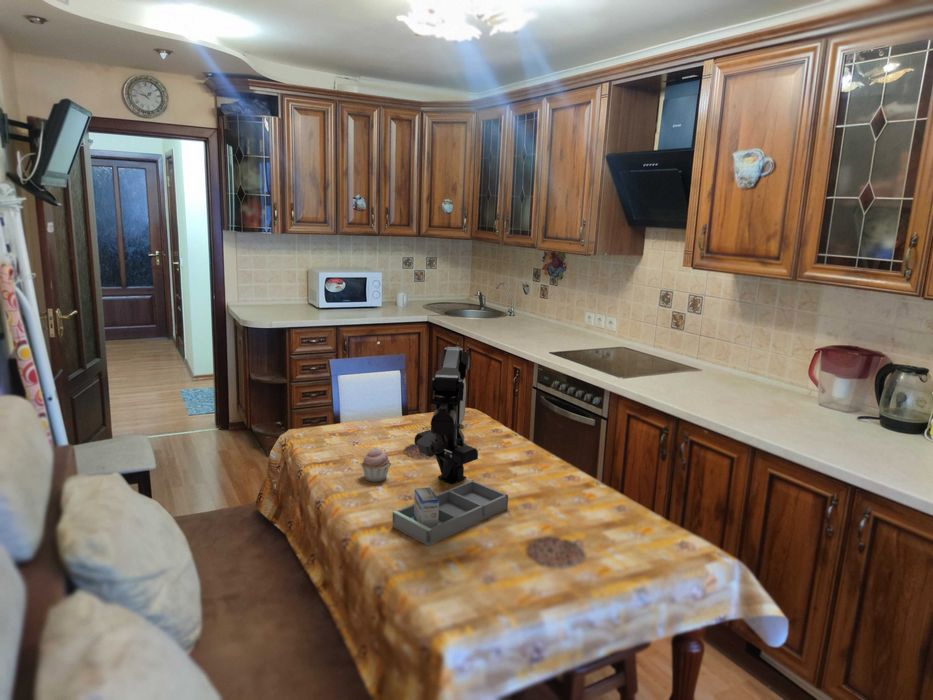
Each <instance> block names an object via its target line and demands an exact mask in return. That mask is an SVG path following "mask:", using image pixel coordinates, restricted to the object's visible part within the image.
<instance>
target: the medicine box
mask: <svg viewBox="0 0 933 700" xmlns="http://www.w3.org/2000/svg"><path fill="white" fill-rule="evenodd" d="M436 495H437V494H435V492H434V491H433V490H432V488H431V487H430V486H429V487H428V486H426V487H418V488H417V487H416V488H415V489H414V496H413V497H414V499H413V504H414V520H415V521H417V522H419V523H421V524H423V525H425V526H427V527H429V528H432V527H434V526H436V525H438V515H439V500H438V498H437V497H436Z"/></svg>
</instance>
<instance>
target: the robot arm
mask: <svg viewBox="0 0 933 700" xmlns="http://www.w3.org/2000/svg"><path fill="white" fill-rule="evenodd" d="M463 349H464V348H463V347H460V346H446V347H444V350H443V351H440V355H439V356H440V358H439V368H440V369H439V370H436V371H435V375H434V377H432V379H431V387H430V388H431V389H430V398H429V405H435V409H434V412H433V414H432V417H431V420H430V429H427V430H424V431H421V432H419V433H417V434H416V435H415V437H414V445H416V446H417V448H418V452H419V453H420V454H423V455H425V456H427V457H428V458H430V457H433V456H434V457H435V459H436V462H437V464H438V467H439V470H440V473H441V474H440V475H438V476H437V479H439V480H441V481H444V482H446V483H448V484H450V485H453V484H456V483H458V482H461V481H463V480H466V479H467V476H466V475H464V471H465V468H464V467H465V466H464V465H465V464H468V463H471V462H473V461H475V460H476V461H477V460H478V459H479V451H478V449H477V448H475V447H473V446H470V445H468V444H467V443H465V435H464V433H463V432H462V430H461V424H460V406H461V401H463V395H464V383H463V380H464V378H465V379H466V377H467V374H468V373H467V371H469V370H470V354H469V353H468V352H466V351H464V350H463ZM439 396H441V397H439Z"/></svg>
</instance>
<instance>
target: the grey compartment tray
mask: <svg viewBox="0 0 933 700" xmlns="http://www.w3.org/2000/svg"><path fill="white" fill-rule="evenodd" d="M435 495H436V497H437V498H438V500H439V515H438V525H436V526H434V527H432V528H429V527H427V526H425V525H423V524H421V523H419V522H417V521H415V520H414V503H412V504H410V505H407V506H405V507H402V508H400V509H398V510H396V509H395V510H393V511H392V527H393V528H394V529H397V530H398V531H400V532H402V533H404V534H405V535H407V536H409V537H411V538H413V539H415V540H417V541H419V543H422V544H424V545H425V546H428V547H430V546H432V545H434V544H436V543H438V542H441V541H442V540H445V539H446V538H449V537H450V536H451V537H452V535H453V536H454V534H457V533H460V532H461V531H463V530H465V529H468V528H469V527H471V526H473V525H476V524H478V523H479V522H480V523H481V522H482V521H484V520H486V519H488V518H490V517H492V516H494V515H496V514H498V513H500V512H503V511H505V510H507V509H508V507H509V505H508V504H509V495H508V494H507V493H504V492H502V491H499V490H497V489H495V488H492V487H490V486H487V485H485V484H483V483H480V482H478V481H475V480H470V481H467V482H465V483H462V484H459V485H457V486H454V487H451V488H450V489H447V490H445V491H442V492H440V493H438V494H435Z"/></svg>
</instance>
